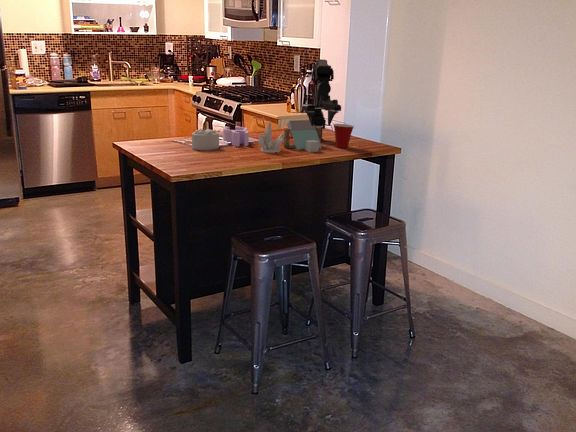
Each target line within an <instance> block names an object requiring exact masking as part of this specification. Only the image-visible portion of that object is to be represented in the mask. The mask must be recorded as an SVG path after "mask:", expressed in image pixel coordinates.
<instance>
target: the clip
mask: <svg viewBox="0 0 576 432" xmlns="http://www.w3.org/2000/svg"><path fill="white" fill-rule="evenodd" d="M234 127H235V128H234V129H230V128H231V127H230V126H226V125H225V126H224V127H223V128H222V141H223V140H224V141H227V142H231V143H232V144H231V145H232V147H233V146H234V147H240V145H243V146H244V147H248V146H249V141H250V138H249V135H250V132H249V131H248V128H247V127H243V126H239V125H237V126H234Z"/></svg>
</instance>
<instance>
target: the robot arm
mask: <svg viewBox="0 0 576 432" xmlns="http://www.w3.org/2000/svg"><path fill="white" fill-rule="evenodd" d="M311 76H312V78H313V80H312V81H313V82H314V84H315V90H314V101H313V102H314V103H313V104H311V103H310V104H309V103H305V104H303V105H302V106H301V110H302V111H303V113H306V115H307V118H308V120H310V123H311V126H313V124H314V127H315V128H316V127H320V128H322V129H321V141H323V140H324V138H323V130H325V129H326V121H327V125H328V126H329V127H330V126H331V124H332V122H333V119H334V117H335V116H336V114H338V113H339V112H341V111H342V105H341V104H339V100H338V99H331V95H330V93H331V90H332V86H331V84H330V82H333V80H334V79H335V78H334V76H335V75H334V70H333V67H332V65H329V64H328V60H327V59H322V58H321V59H320V58H319V59H317V60H316V63H314V64H313V65H312V73H311ZM323 110H324V111H327V120H326V118H325V115H324V112H323Z"/></svg>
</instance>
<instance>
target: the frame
mask: <svg viewBox="0 0 576 432" xmlns="http://www.w3.org/2000/svg"><path fill="white" fill-rule="evenodd" d="M321 129H322V128H320V127H316V131H317V135H318V138H319V141H320V144H321V145H322V142H321V141H322V140H321ZM322 130H323V129H322ZM290 131H291V129H288V128H284V129H283V137H284V139H283V148H284V149H296V146H295V143H290V137H291V136H290V135H291V133H290Z"/></svg>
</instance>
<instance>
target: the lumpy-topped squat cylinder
mask: <svg viewBox="0 0 576 432" xmlns="http://www.w3.org/2000/svg"><path fill="white" fill-rule="evenodd" d="M191 149H192V150H199V151H210V150H216V149H220V133H219V132H217V131H216V130H213V129H210V128H207V129H205V130H204V129H203V128H199V129H196V130H195V131H194V132H192V133H191Z"/></svg>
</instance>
